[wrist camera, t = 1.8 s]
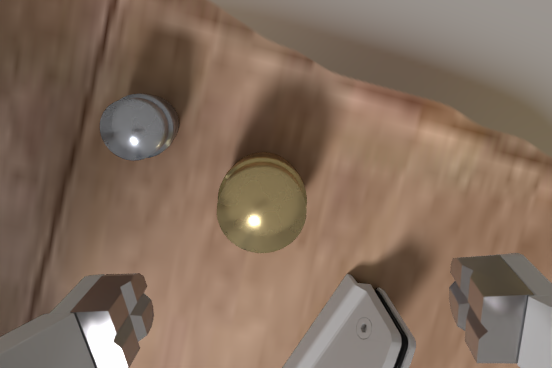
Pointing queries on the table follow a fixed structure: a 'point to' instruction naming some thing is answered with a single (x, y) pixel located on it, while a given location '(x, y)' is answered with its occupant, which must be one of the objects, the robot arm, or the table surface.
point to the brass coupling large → (262, 203)
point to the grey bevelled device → (355, 332)
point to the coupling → (139, 126)
